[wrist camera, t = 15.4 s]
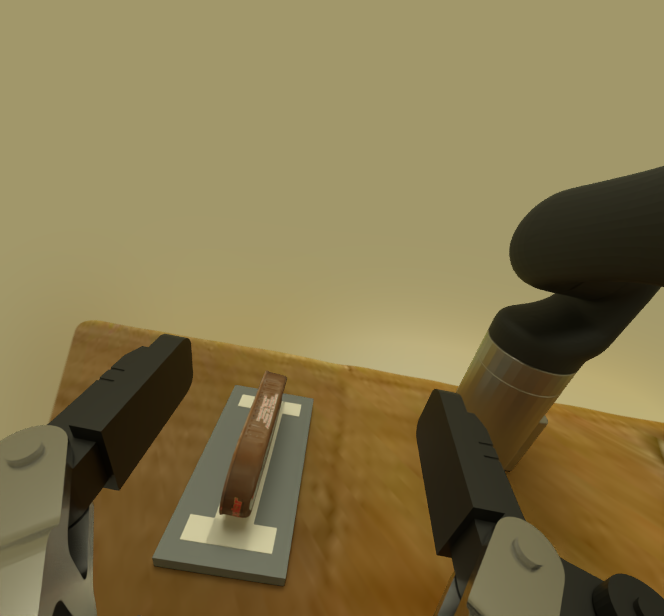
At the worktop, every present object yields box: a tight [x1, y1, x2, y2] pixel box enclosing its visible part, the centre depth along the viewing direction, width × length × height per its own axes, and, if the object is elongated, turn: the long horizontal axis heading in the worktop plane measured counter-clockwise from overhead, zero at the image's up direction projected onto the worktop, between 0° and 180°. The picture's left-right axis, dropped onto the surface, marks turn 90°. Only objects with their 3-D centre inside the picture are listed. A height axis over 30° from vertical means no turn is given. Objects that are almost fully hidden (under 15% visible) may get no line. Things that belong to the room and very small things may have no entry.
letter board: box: [152, 385, 313, 586], centre depth 34 cm, size 11×20×2 cm, turn 176°
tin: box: [219, 371, 287, 518], centre depth 31 cm, size 15×3×8 cm, turn 176°
